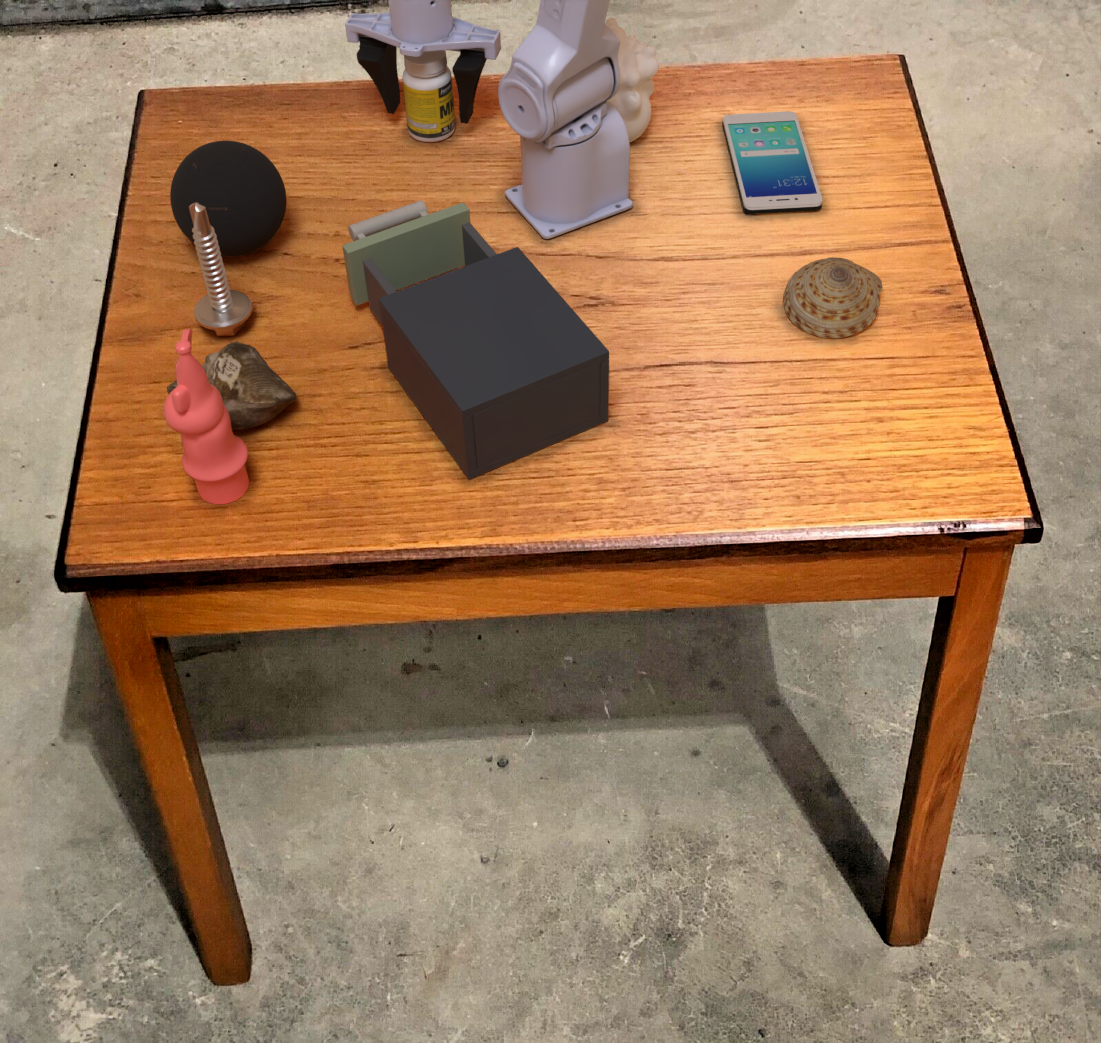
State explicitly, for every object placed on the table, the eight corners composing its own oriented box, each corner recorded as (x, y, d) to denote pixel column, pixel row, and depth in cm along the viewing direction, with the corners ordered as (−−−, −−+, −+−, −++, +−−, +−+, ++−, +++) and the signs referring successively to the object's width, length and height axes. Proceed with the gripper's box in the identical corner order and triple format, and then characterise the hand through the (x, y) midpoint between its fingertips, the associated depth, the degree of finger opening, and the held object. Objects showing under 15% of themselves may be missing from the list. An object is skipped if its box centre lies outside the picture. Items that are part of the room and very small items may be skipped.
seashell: (897, 262, 123) (879, 285, 117) (880, 323, 126) (862, 350, 119) (805, 238, 126) (783, 260, 119) (791, 299, 128) (768, 323, 122)
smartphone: (796, 110, 141) (825, 203, 131) (795, 117, 141) (824, 211, 131) (720, 114, 140) (744, 208, 131) (720, 121, 141) (743, 215, 131)
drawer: (330, 270, 126) (321, 217, 122) (446, 229, 130) (440, 175, 125) (419, 392, 116) (412, 339, 112) (542, 344, 119) (540, 290, 115)
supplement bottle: (449, 146, 139) (442, 69, 133) (402, 141, 140) (393, 64, 134) (461, 118, 142) (455, 41, 136) (415, 113, 143) (407, 37, 137)
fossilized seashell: (143, 409, 113) (253, 460, 112) (162, 332, 111) (275, 383, 109) (192, 390, 120) (296, 438, 118) (212, 317, 118) (318, 365, 116)
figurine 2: (669, 144, 139) (674, 32, 130) (612, 168, 137) (614, 56, 127) (626, 111, 143) (629, -1, 134) (571, 133, 140) (570, 21, 131)
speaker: (219, 295, 126) (195, 201, 118) (163, 240, 131) (137, 147, 123) (315, 248, 130) (298, 155, 122) (258, 196, 135) (238, 104, 127)
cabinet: (388, 368, 119) (378, 298, 113) (521, 316, 123) (517, 246, 117) (468, 480, 111) (462, 410, 105) (608, 421, 115) (609, 351, 109)
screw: (202, 309, 125) (258, 307, 125) (195, 347, 121) (252, 344, 121) (169, 185, 115) (230, 183, 115) (160, 223, 111) (223, 220, 112)
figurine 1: (191, 462, 113) (146, 318, 101) (257, 458, 113) (219, 313, 101) (186, 512, 109) (139, 368, 98) (253, 506, 110) (214, 362, 98)
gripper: (327, -4, 128) (346, 126, 139) (482, 14, 126) (490, 146, 136) (353, -43, 133) (370, 86, 143) (504, -26, 130) (510, 104, 140)
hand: (430, 113), depth 140 cm, fingers open, 7 cm apart
